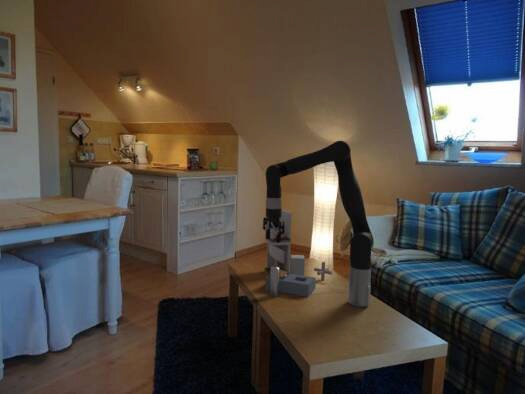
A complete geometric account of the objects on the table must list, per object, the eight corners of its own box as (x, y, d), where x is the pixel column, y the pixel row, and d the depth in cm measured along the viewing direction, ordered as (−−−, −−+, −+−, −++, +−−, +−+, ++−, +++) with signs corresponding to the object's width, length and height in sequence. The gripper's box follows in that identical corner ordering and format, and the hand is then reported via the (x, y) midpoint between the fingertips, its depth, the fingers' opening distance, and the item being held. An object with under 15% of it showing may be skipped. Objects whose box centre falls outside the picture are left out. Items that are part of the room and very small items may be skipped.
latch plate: (289, 274, 203) (289, 272, 203) (283, 279, 195) (284, 277, 195) (275, 268, 205) (276, 266, 205) (269, 273, 198) (270, 271, 197)
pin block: (315, 289, 200) (315, 277, 199) (308, 297, 189) (308, 284, 188) (274, 282, 208) (274, 271, 208) (265, 289, 198) (265, 277, 197)
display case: (264, 271, 227) (266, 210, 222) (282, 270, 230) (284, 210, 226) (270, 277, 216) (272, 213, 212) (289, 276, 219) (291, 213, 215)
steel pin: (279, 295, 190) (280, 266, 189) (276, 298, 187) (277, 269, 185) (271, 293, 192) (272, 265, 190) (268, 296, 188) (269, 267, 187)
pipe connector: (326, 284, 207) (327, 266, 206) (309, 280, 213) (310, 262, 212) (335, 280, 215) (336, 262, 213) (319, 276, 221) (319, 258, 219)
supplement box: (304, 281, 210) (305, 258, 209) (290, 281, 211) (290, 258, 209) (302, 277, 218) (303, 254, 216) (289, 277, 218) (290, 254, 216)
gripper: (289, 208, 184) (288, 242, 186) (271, 204, 196) (270, 237, 198) (276, 209, 180) (275, 244, 182) (258, 205, 192) (258, 238, 194)
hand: (273, 240), depth 190 cm, fingers open, 8 cm apart
